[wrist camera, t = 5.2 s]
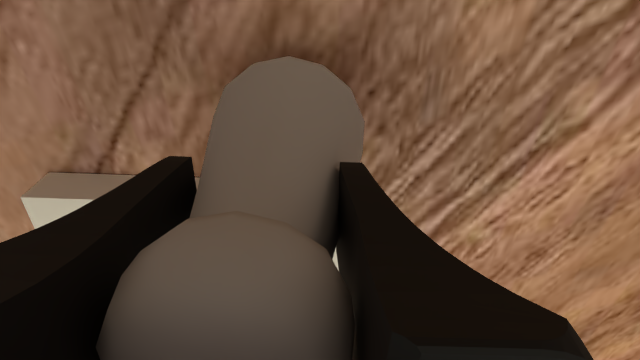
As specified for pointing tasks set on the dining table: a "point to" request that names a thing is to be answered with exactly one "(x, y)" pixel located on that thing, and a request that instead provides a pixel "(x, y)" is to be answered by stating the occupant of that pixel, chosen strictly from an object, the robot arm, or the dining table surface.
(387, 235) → the robot arm
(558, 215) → the dining table surface
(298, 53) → the dining table surface
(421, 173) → the dining table surface
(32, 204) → the socket block
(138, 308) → the salt shaker
